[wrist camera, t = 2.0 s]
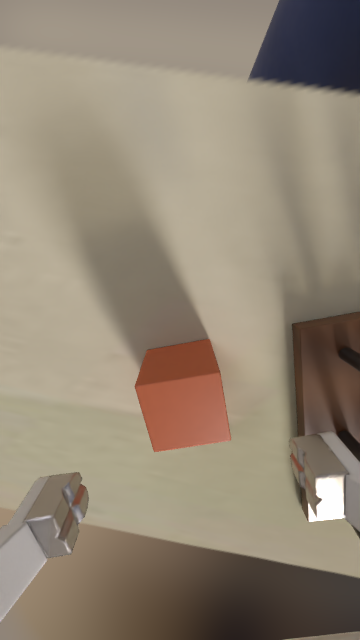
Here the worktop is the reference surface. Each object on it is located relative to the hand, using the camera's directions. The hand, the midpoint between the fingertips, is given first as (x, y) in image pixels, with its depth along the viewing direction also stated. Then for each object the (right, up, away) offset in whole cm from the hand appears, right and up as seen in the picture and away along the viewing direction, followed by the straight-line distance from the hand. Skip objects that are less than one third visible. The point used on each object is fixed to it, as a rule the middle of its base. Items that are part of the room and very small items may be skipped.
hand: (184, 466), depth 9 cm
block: (0, +2, +6) cm, 7 cm away
